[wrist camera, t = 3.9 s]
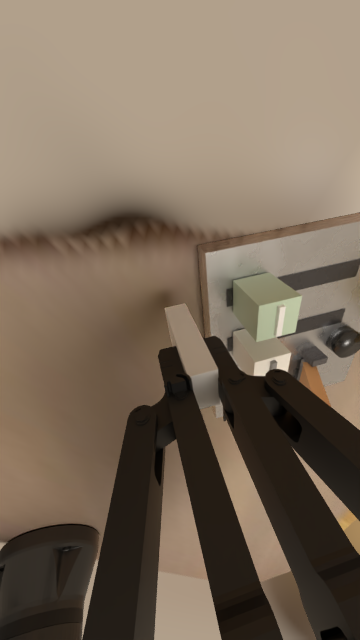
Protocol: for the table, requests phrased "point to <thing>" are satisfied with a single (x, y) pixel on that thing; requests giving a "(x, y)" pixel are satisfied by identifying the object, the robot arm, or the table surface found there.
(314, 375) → the lever orange
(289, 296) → the slider sage
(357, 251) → the panel
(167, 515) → the table surface
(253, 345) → the slider ivory
